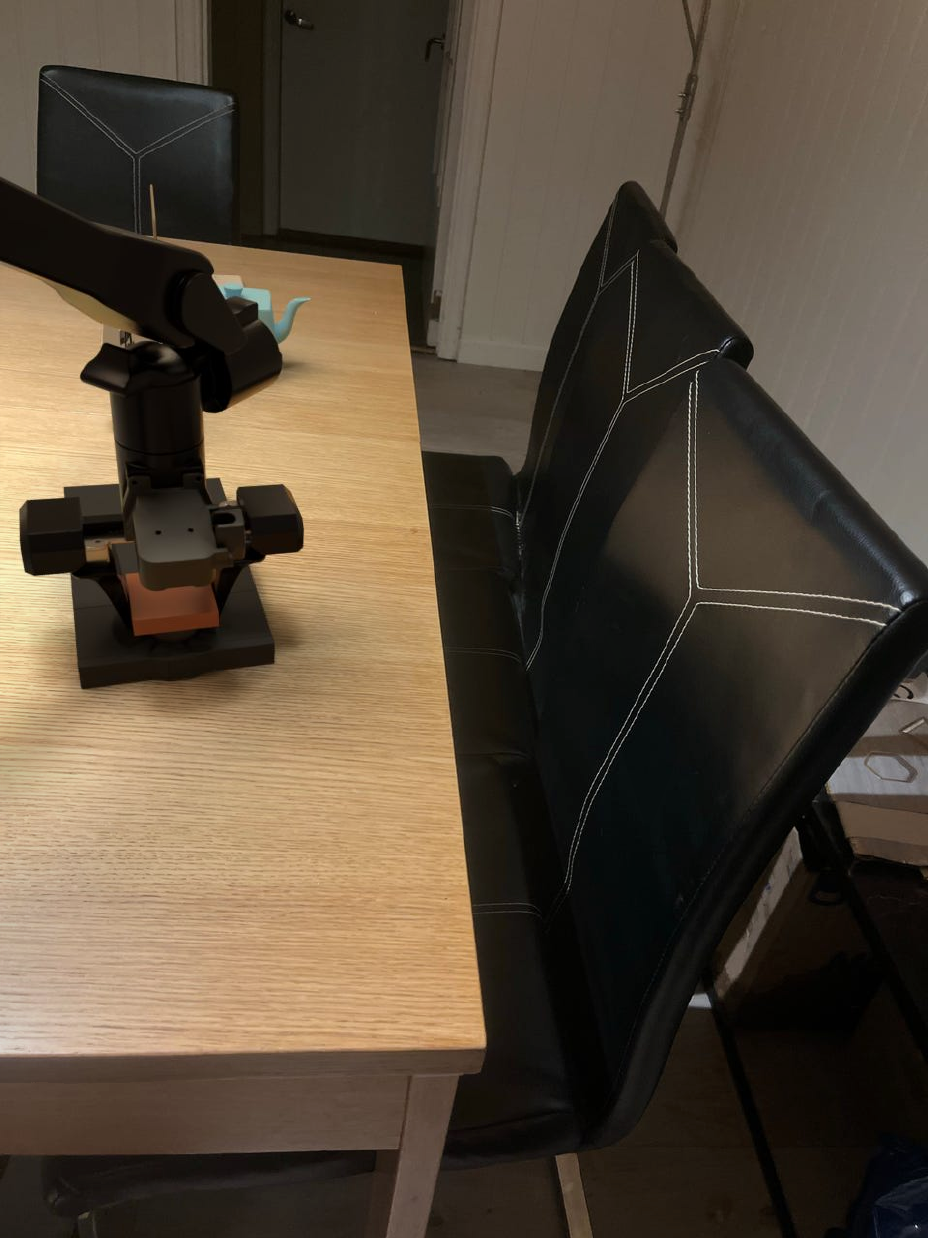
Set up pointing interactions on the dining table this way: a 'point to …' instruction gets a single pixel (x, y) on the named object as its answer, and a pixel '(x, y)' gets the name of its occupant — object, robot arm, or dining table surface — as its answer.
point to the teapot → (266, 308)
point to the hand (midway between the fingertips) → (172, 620)
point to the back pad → (128, 658)
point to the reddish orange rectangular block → (171, 610)
